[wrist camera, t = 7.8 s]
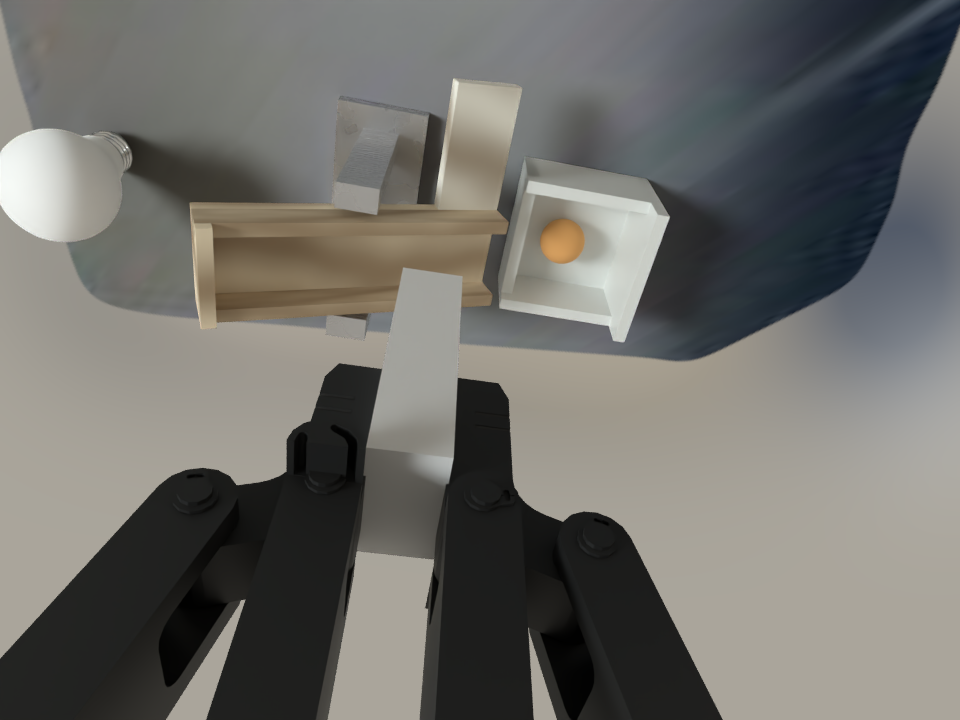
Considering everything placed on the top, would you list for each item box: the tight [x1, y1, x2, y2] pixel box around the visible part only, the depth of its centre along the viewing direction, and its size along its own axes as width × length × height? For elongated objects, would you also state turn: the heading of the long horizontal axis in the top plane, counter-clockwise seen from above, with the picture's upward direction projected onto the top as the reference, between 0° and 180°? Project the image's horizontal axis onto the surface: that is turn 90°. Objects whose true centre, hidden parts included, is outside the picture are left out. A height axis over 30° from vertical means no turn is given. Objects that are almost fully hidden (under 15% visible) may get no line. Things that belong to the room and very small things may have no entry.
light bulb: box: [0, 129, 133, 242], centre depth 42 cm, size 7×7×11 cm
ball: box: [540, 219, 585, 264], centre depth 48 cm, size 3×3×3 cm
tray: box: [498, 156, 670, 342], centre depth 47 cm, size 10×9×7 cm
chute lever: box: [190, 78, 522, 329], centre depth 38 cm, size 14×18×4 cm
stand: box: [326, 96, 429, 341], centre depth 44 cm, size 13×6×12 cm, turn 169°
